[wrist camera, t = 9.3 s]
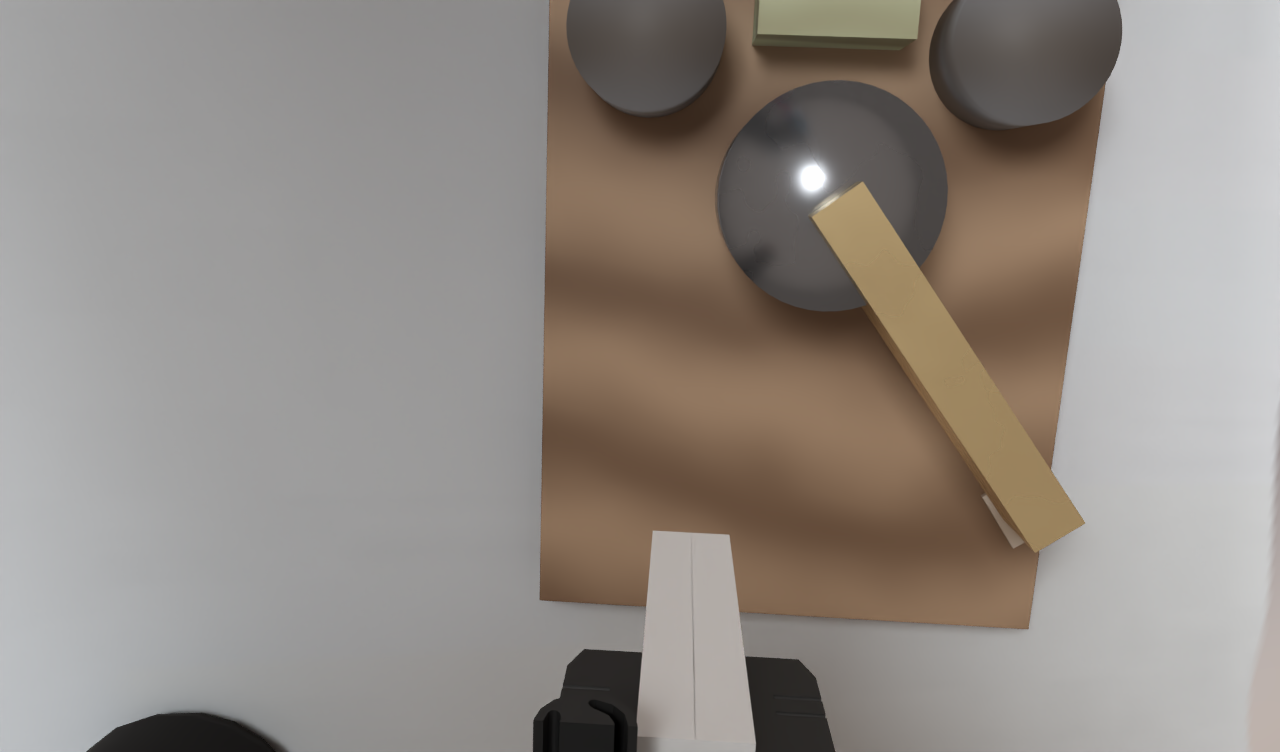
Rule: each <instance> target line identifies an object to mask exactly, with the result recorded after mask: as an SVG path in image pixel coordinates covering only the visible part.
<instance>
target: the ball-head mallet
mask: <svg viewBox="0 0 1280 752" xmlns="http://www.w3.org/2000/svg"><path fill="white" fill-rule="evenodd" d="M947 197H948V184H947V173H946V168H945V164H944V159H943V156H942V154H941V151H940V148H939V146H938V143H937V141H936V139H935V138H934V136H933V134H932V132H931V130H930V129H929V128H928V126H927V125H926V123H925V122H924V121H923V119H922V118H921V117H920V116H919V115H918V114H917V113H916V112H915V111H914V110H913V109H912V108H911V107H910V106H909V105H907V104H906V103H905V102H903V101H902V100H901V99H900V98H898V97H896V96H894V95H893V94H891V93H889V92H887V91H885V90H883V89H880V88H878V87H875V86H873V85H869V84H865V83H861V82H856V81H846V80H829V81H821V82H815V83H810V84H807V85H804V86H801V87H797V88H795V89H793V90H791V91H788V92H786V93H784V94H782V95H780V96H779V97H777V98H776V99H774V100H773V101H771V102H769V103H768V104H767V105H766V106H764V107H763V108H762V109H761V110H760V111H758V112H757V113H756V114H755V115H754V116H753V117H752V118H751V119H750V120H749V121H748V123H747V124H746V125H745V126H744V127H743V128H742V129H741V130H740V131H739V132H738V134H737V135H736V136H735V138H734V139H733V141H732V142H731V144H730V145H729V147H728V149H727V151H726V153H725V155H724V157H723V160H722V162H721V165H720V168H719V172H718V176H717V180H716V187H715V211H716V218H717V222H718V226H719V230H720V233H721V235H722V238H723V240H724V242H725V245H726V246H727V248H728V250H729V251H730V253H731V255H732V256H733V258H734V259H735V261H736V262H737V264H738V265H739V267H740V268H741V269H742V270H743V272H744V273H745V274H746V275H747V276H748V277H749V278H750V279H751V280H752V281H753V282H754V283H755V284H756V285H757V286H758V287H759V288H761V289H762V290H763V291H765V292H766V293H768V294H769V295H771V296H773V297H774V298H776V299H778V300H780V301H782V302H784V303H787V304H790V305H792V306H795V307H799V308H803V309H807V310H814V311H823V312H824V311H843V310H849V309H854V308H858V307H862V309H863V310H864V312H865V313H866V315H867V316H868V318H869V319H870V321H871V322H872V324H873V325H874V327H875V328H876V330H877V331H878V333H879V334H880V336H881V337H882V339H883V340H884V342H885V343H886V345H887V346H888V348H889V349H890V351H891V352H892V354H893V355H894V357H895V358H896V360H897V361H898V363H899V364H900V366H901V367H902V369H903V370H904V372H905V373H906V375H907V376H908V378H909V379H910V381H911V382H912V384H913V385H914V387H915V388H916V390H917V391H918V393H919V394H920V396H921V397H922V399H923V400H924V402H925V403H926V405H927V406H928V408H929V409H930V411H931V412H932V414H933V415H934V417H935V418H936V420H937V421H938V423H939V424H940V426H941V427H942V429H943V430H944V432H945V433H946V435H947V436H948V438H949V439H950V441H951V442H952V444H953V445H954V447H955V448H956V450H957V451H958V453H959V454H960V456H961V457H962V459H963V460H964V462H965V463H966V465H967V466H968V468H969V469H970V471H971V472H972V474H973V475H974V477H975V478H976V480H977V481H978V483H979V484H980V486H981V487H982V489H983V490H984V492H985V493H986V495H987V496H988V498H989V499H990V501H991V502H992V504H993V505H994V507H995V508H996V510H997V511H998V513H999V514H1000V516H1001V517H1002V519H1003V520H1004V521H1005V522H1006V523H1007V524H1008V525H1009V526H1010V527H1011V528H1012V529H1013V530H1014V531H1015V532H1016V534H1017V535H1018V536H1019V537H1020V538H1021V539H1022V540H1023V541H1024V542H1025V543H1026V544H1027V545H1028V546H1029V547H1030V548H1031V549H1032V550H1033V551H1034V552H1035V553H1036V552H1038V551H1039V550H1041V549H1043V548H1044V547H1046V546H1048V545H1050V544H1051V543H1053V542H1055V541H1056V540H1058V539H1060V538H1061V537H1063V536H1065V535H1066V534H1068V533H1070V532H1071V531H1073V530H1075V529H1076V528H1078V527H1080V526H1082V525H1083V524H1085V522H1084V520H1083V519H1082V517H1081V516H1080V514H1079V513H1078V511H1077V510H1076V508H1075V507H1074V505H1073V504H1072V502H1071V500H1070V499H1069V497H1068V496H1067V494H1066V493H1065V491H1064V490H1063V488H1062V487H1061V485H1060V484H1059V482H1058V481H1057V479H1056V477H1055V476H1054V474H1053V473H1052V471H1051V470H1050V468H1049V467H1048V465H1047V464H1046V462H1045V461H1044V459H1043V457H1042V456H1041V454H1040V453H1039V451H1038V450H1037V448H1036V447H1035V445H1034V444H1033V442H1032V441H1031V439H1030V437H1029V436H1028V434H1027V433H1026V431H1025V430H1024V428H1023V427H1022V425H1021V424H1020V422H1019V421H1018V419H1017V418H1016V416H1015V414H1014V413H1013V411H1012V410H1011V408H1010V407H1009V405H1008V404H1007V402H1006V401H1005V399H1004V398H1003V396H1002V394H1001V393H1000V391H999V390H998V388H997V387H996V385H995V384H994V382H993V381H992V379H991V378H990V376H989V374H988V373H987V371H986V370H985V368H984V367H983V365H982V364H981V362H980V361H979V359H978V358H977V356H976V354H975V353H974V351H973V350H972V348H971V347H970V345H969V344H968V342H967V341H966V339H965V338H964V336H963V335H962V333H961V331H960V330H959V328H958V327H957V325H956V324H955V322H954V321H953V319H952V318H951V316H950V315H949V313H948V311H947V310H946V308H945V307H944V305H943V304H942V302H941V301H940V299H939V298H938V296H937V295H936V293H935V291H934V290H933V288H932V287H931V285H930V284H929V282H928V281H927V279H926V278H925V276H924V275H923V273H922V272H921V270H920V267H921V265H922V264H923V263H924V262H925V260H926V259H927V257H928V256H929V254H930V252H931V251H932V249H933V247H934V245H935V243H936V241H937V239H938V237H939V234H940V232H941V229H942V225H943V222H944V219H945V213H946V208H947Z"/></svg>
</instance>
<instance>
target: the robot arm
mask: <svg viewBox="0 0 1280 752" xmlns="http://www.w3.org/2000/svg"><path fill="white" fill-rule="evenodd" d="M533 752H835V749H834V745H833V742H832V738H831V734H830V730H829V726H828V723H827V719H826V718H825V711H824V707H823V704H822V702H821V696H820V692H819V688H818V684H817V681H816V678H815V676H814V675H813V674H812V673H811V672H810V671H809V670H808V669H807V668H806V667H805V666H804V665H803V664H802V663H801V662H800V661H799V660H797V659H780V658H763V657H746V656H745V654H744V646H743V638H742V630H741V622H740V614H739V607H738V599H737V591H736V583H735V575H734V567H733V559H732V552H731V544H730V536H729V535H725V534H707V533H688V532H670V531H653V534H652V546H651V558H650V569H649V581H648V593H647V604H646V616H645V628H644V640H643V651H642V653H640V652H623V651H606V650H589V649H584V650H583V651H582V652H581V653H580V654H579V655H578V656H577V657H576V658H575V659H574V660H573V661H571V662H570V663H569V664H568V666H567V670H566V674H565V679H564V683H563V688H562V691H561V696H560V698H559V699H555V700H553V701H552V702H550V703H549V704H547V705H546V706H544V707H543V708H541V709H540V711H539V712H538V714H537V715H536V717H535V719H534V722H533Z"/></svg>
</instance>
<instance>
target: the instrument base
mask: <svg viewBox="0 0 1280 752" xmlns="http://www.w3.org/2000/svg"><path fill="white" fill-rule="evenodd" d="M1121 39H1122V19H1121V14H1120V8H1119V5H1118V2H1117V0H550V2H549V63H548V125H547V186H546V247H545V308H544V369H543V431H542V492H541V553H540V600H544V601H561V602H578V603H595V604H612V605H629V606H646V604H647V593H648V581H649V569H650V558H651V546H652V534H653V531H670V532H688V533H707V534H725V535H729V536H730V544H731V552H732V559H733V567H734V575H735V583H736V591H737V599H738V607H739V612H747V613H764V614H781V615H797V616H814V617H831V618H848V619H865V620H882V621H899V622H916V623H932V624H949V625H966V626H983V627H1000V628H1017V629H1028V628H1029V621H1030V614H1031V607H1032V600H1033V593H1034V586H1035V578H1036V571H1037V564H1038V557H1039V551H1038V552H1036V553H1035V552H1034V551H1033V550H1032V549H1031V548H1030V547H1029V546H1028V545H1027V544H1026V543H1025V542H1024V541H1023V540H1022V539H1021V538H1020V537H1019V536H1018V535H1017V534H1016V532H1015V531H1014V530H1013V529H1012V528H1011V527H1010V526H1009V525H1008V524H1007V523H1006V522H1005V521H1004V520H1003V519H1002V517H1001V516H1000V514H999V513H998V511H997V510H996V508H995V507H994V505H993V504H992V502H991V501H990V499H989V498H988V496H987V495H986V493H985V492H984V490H983V489H982V487H981V486H980V484H979V483H978V481H977V480H976V478H975V477H974V475H973V474H972V472H971V471H970V469H969V468H968V466H967V465H966V463H965V462H964V460H963V459H962V457H961V456H960V454H959V453H958V451H957V450H956V448H955V447H954V445H953V444H952V442H951V441H950V439H949V438H948V436H947V435H946V433H945V432H944V430H943V429H942V427H941V426H940V424H939V423H938V421H937V420H936V418H935V417H934V415H933V414H932V412H931V411H930V409H929V408H928V406H927V405H926V403H925V402H924V400H923V399H922V397H921V396H920V394H919V393H918V391H917V390H916V388H915V387H914V385H913V384H912V382H911V381H910V379H909V378H908V376H907V375H906V373H905V372H904V370H903V369H902V367H901V366H900V364H899V363H898V361H897V360H896V358H895V357H894V355H893V354H892V352H891V351H890V349H889V348H888V346H887V345H886V343H885V342H884V340H883V339H882V337H881V336H880V334H879V333H878V331H877V330H876V328H875V327H874V325H873V324H872V322H871V321H870V319H869V318H868V316H867V315H866V313H865V312H864V310H863V309H862V307H858V308H854V309H849V310H843V311H824V312H823V311H814V310H807V309H803V308H799V307H795V306H792V305H790V304H787V303H784V302H782V301H780V300H778V299H776V298H774V297H773V296H771V295H769V294H768V293H766V292H765V291H763V290H762V289H761V288H759V287H758V286H757V285H756V284H755V283H754V282H753V281H752V280H751V279H750V278H749V277H748V276H747V275H746V274H745V273H744V272H743V270H742V269H741V268H740V267H739V265H738V264H737V262H736V261H735V259H734V258H733V256H732V255H731V253H730V251H729V250H728V248H727V246H726V245H725V242H724V240H723V238H722V235H721V233H720V230H719V226H718V222H717V218H716V211H715V187H716V180H717V176H718V172H719V168H720V165H721V162H722V160H723V157H724V155H725V153H726V151H727V149H728V147H729V145H730V144H731V142H732V141H733V139H734V138H735V136H736V135H737V134H738V132H739V131H740V130H741V129H742V128H743V127H744V126H745V125H746V124H747V123H748V121H749V120H750V119H751V118H752V117H753V116H754V115H755V114H756V113H757V112H758V111H760V110H761V109H762V108H763V107H764V106H766V105H767V104H768V103H769V102H771V101H773V100H774V99H776V98H777V97H779V96H780V95H782V94H784V93H786V92H788V91H791V90H793V89H795V88H797V87H801V86H804V85H807V84H810V83H815V82H821V81H829V80H846V81H856V82H861V83H865V84H869V85H873V86H875V87H878V88H880V89H883V90H885V91H887V92H889V93H891V94H893V95H894V96H896V97H898V98H900V99H901V100H902V101H903V102H905V103H906V104H907V105H909V106H910V107H911V108H912V109H913V110H914V111H915V112H916V113H917V114H918V115H919V116H920V117H921V118H922V119H923V121H924V122H925V123H926V125H927V126H928V128H929V129H930V130H931V132H932V134H933V136H934V138H935V139H936V141H937V143H938V146H939V148H940V151H941V154H942V156H943V159H944V164H945V168H946V173H947V184H948V197H947V208H946V213H945V219H944V222H943V225H942V229H941V232H940V234H939V237H938V239H937V241H936V243H935V245H934V247H933V249H932V251H931V252H930V254H929V256H928V257H927V259H926V260H925V262H924V263H923V264H922V265H921V267H920V270H921V272H922V273H923V275H924V276H925V278H926V279H927V281H928V282H929V284H930V285H931V287H932V288H933V290H934V291H935V293H936V295H937V296H938V298H939V299H940V301H941V302H942V304H943V305H944V307H945V308H946V310H947V311H948V313H949V315H950V316H951V318H952V319H953V321H954V322H955V324H956V325H957V327H958V328H959V330H960V331H961V333H962V335H963V336H964V338H965V339H966V341H967V342H968V344H969V345H970V347H971V348H972V350H973V351H974V353H975V354H976V356H977V358H978V359H979V361H980V362H981V364H982V365H983V367H984V368H985V370H986V371H987V373H988V374H989V376H990V378H991V379H992V381H993V382H994V384H995V385H996V387H997V388H998V390H999V391H1000V393H1001V394H1002V396H1003V398H1004V399H1005V401H1006V402H1007V404H1008V405H1009V407H1010V408H1011V410H1012V411H1013V413H1014V414H1015V416H1016V418H1017V419H1018V421H1019V422H1020V424H1021V425H1022V427H1023V428H1024V430H1025V431H1026V433H1027V434H1028V436H1029V437H1030V439H1031V441H1032V442H1033V444H1034V445H1035V447H1036V448H1037V450H1038V451H1039V453H1040V454H1041V456H1042V457H1043V459H1044V461H1045V462H1046V464H1047V465H1048V467H1049V468H1050V470H1051V465H1052V458H1053V451H1054V444H1055V437H1056V430H1057V423H1058V416H1059V409H1060V402H1061V395H1062V388H1063V381H1064V373H1065V366H1066V359H1067V352H1068V345H1069V338H1070V331H1071V324H1072V317H1073V310H1074V303H1075V296H1076V289H1077V282H1078V275H1079V267H1080V260H1081V253H1082V246H1083V239H1084V232H1085V225H1086V218H1087V211H1088V204H1089V197H1090V190H1091V183H1092V176H1093V168H1094V161H1095V154H1096V147H1097V140H1098V133H1099V126H1100V119H1101V112H1102V105H1103V98H1104V91H1105V84H1106V81H1107V79H1108V78H1109V76H1110V74H1111V72H1112V70H1113V68H1114V66H1115V64H1116V61H1117V58H1118V55H1119V51H1120V46H1121Z"/></svg>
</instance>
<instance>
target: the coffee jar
mask: <svg viewBox="0 0 1280 752" xmlns="http://www.w3.org/2000/svg"><path fill="white" fill-rule="evenodd" d="M87 752H275V751H274V750H273V748H272V747H271V746H270V745H269V744H268V743H267V742H266V741H265V740H264V739H262V738H261V737H259V736H257V735H256V734H254V733H252V732H251V731H249V730H247V729H246V728H244V727H242V726H241V725H239V724H237V723H236V722H233V721H229V720H226V719H222V718H218V717H215V716H211V715H208V714H204V713H181V714H157V715H154V716H151V717H148V718H145V719H142V720H139V721H136V722H133V723H129V724H126V725H123V726H120V727H117V728H116V729H114V730H113V731H112V732H110V733H109V734H108V735H107V736H105V737H104V738H103V739H101V740H100V741H99V742H98V743H96V744H95V745H94V746H93V747H91V748H90V749H89V750H88V751H87Z"/></svg>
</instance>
